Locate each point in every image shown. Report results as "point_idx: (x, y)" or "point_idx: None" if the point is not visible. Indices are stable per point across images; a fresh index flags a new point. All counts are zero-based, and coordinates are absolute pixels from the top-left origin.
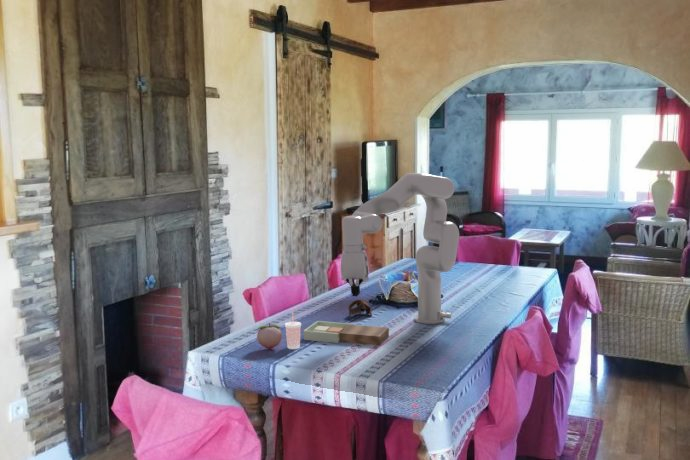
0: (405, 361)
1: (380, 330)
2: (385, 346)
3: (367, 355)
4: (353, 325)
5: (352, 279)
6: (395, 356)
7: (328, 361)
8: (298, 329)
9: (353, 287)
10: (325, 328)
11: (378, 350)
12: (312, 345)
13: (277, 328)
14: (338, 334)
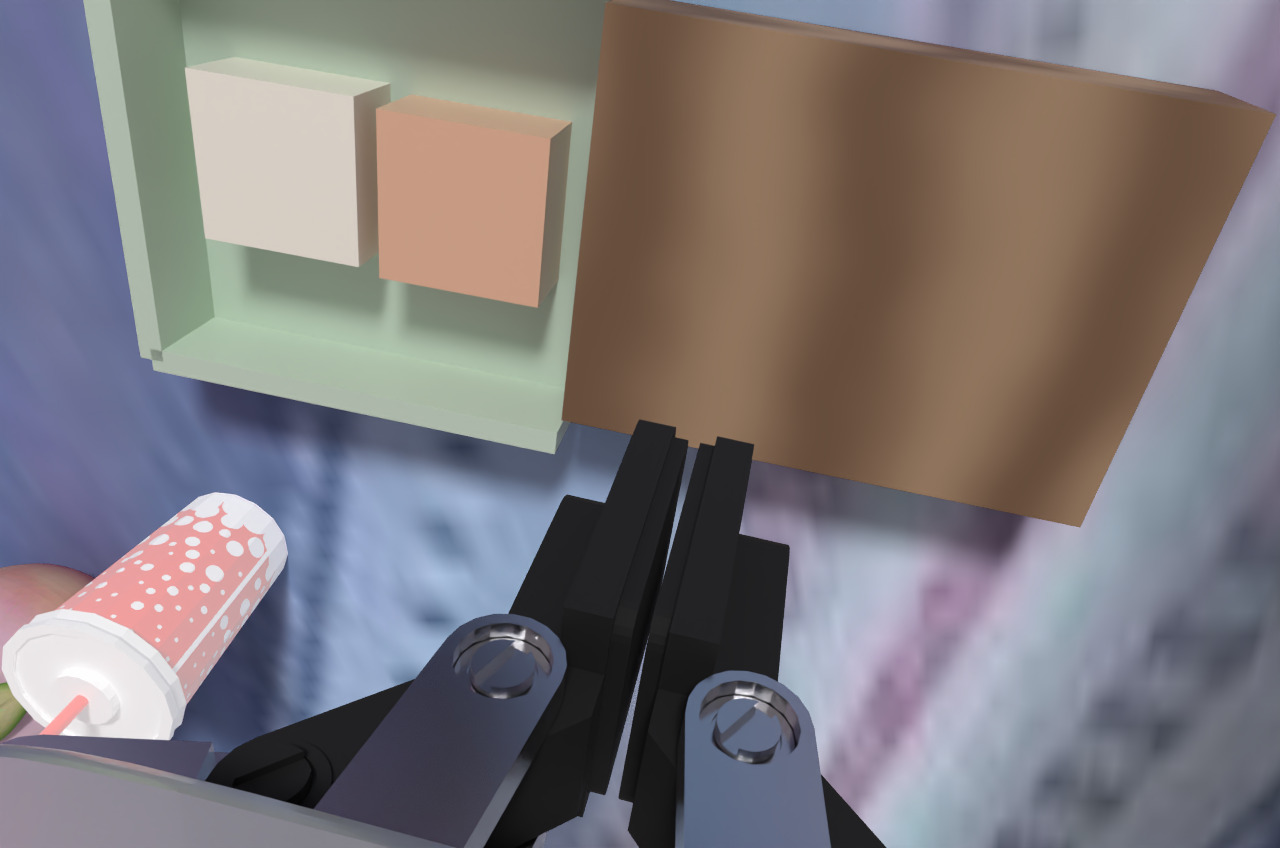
0: (1265, 829)
1: (1113, 274)
2: (1119, 482)
3: (919, 708)
4: (675, 53)
5: (428, 818)
6: (1190, 732)
7: (621, 806)
8: (191, 693)
9: (597, 783)
10: (325, 191)
11: (1029, 595)
12: (366, 486)
13: (17, 732)
14: (560, 426)
